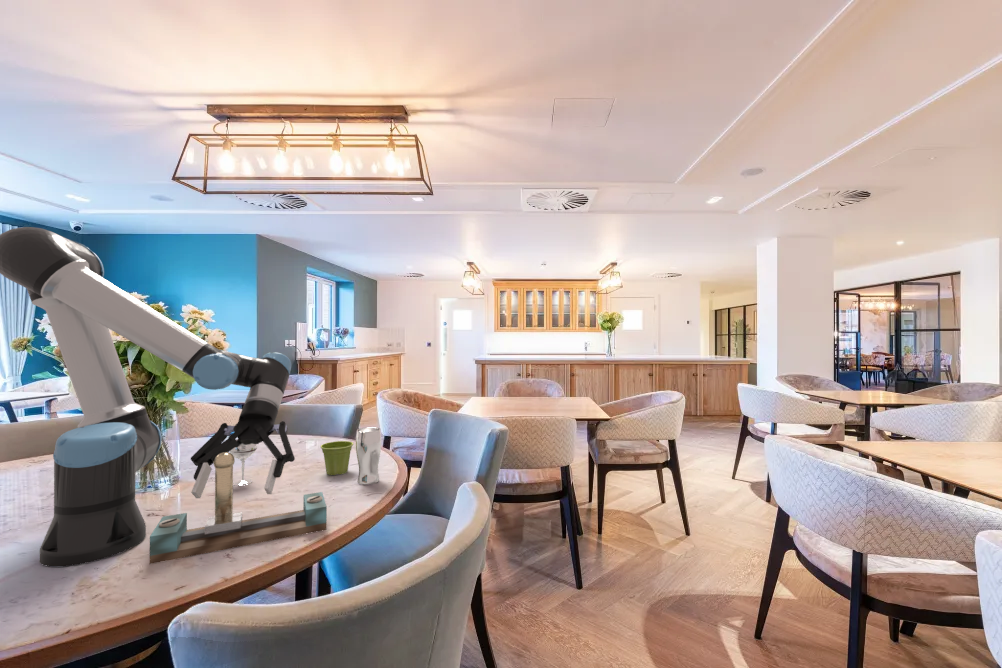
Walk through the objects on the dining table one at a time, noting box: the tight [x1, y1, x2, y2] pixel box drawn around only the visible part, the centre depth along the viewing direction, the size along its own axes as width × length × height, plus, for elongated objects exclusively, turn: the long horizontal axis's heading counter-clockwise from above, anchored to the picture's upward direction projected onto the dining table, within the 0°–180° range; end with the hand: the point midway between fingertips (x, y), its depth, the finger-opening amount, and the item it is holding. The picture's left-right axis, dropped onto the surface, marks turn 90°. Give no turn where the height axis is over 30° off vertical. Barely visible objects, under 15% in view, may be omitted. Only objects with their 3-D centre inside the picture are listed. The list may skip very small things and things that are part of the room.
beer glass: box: [355, 426, 382, 486], centre depth 123 cm, size 7×7×15 cm
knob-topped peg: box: [204, 452, 243, 534], centre depth 87 cm, size 6×5×15 cm
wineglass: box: [229, 438, 258, 486], centre depth 122 cm, size 7×7×12 cm
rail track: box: [148, 491, 328, 565], centre depth 89 cm, size 30×10×6 cm, turn 118°
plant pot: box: [320, 440, 354, 476], centre depth 131 cm, size 9×9×9 cm
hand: (232, 493), depth 87 cm, fingers open, 13 cm apart
